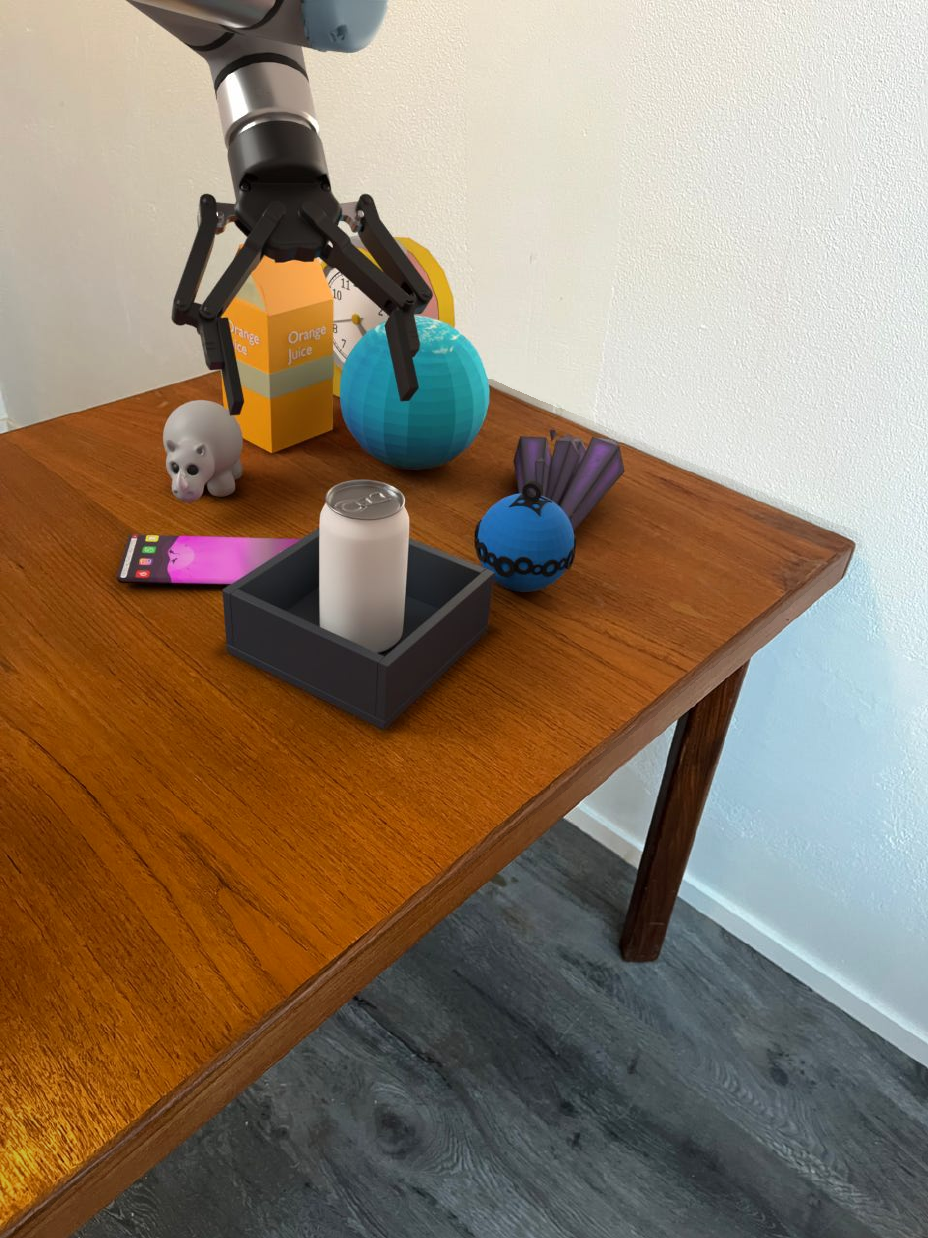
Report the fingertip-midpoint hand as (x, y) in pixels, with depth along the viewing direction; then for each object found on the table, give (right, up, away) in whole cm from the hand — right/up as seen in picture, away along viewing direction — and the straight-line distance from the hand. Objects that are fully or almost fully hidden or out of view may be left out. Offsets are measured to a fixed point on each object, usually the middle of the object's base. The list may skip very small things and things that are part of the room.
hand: (326, 401), depth 75 cm
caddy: (+3, -18, +2) cm, 19 cm away
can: (+3, -18, +2) cm, 18 cm away
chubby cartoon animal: (-14, -5, +18) cm, 23 cm away
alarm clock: (0, +9, +40) cm, 41 cm away
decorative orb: (+5, 0, +27) cm, 28 cm away
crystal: (+20, -5, +23) cm, 31 cm away
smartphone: (-11, -12, +9) cm, 18 cm away
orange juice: (-9, +4, +31) cm, 32 cm away
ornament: (+15, -14, +11) cm, 23 cm away
